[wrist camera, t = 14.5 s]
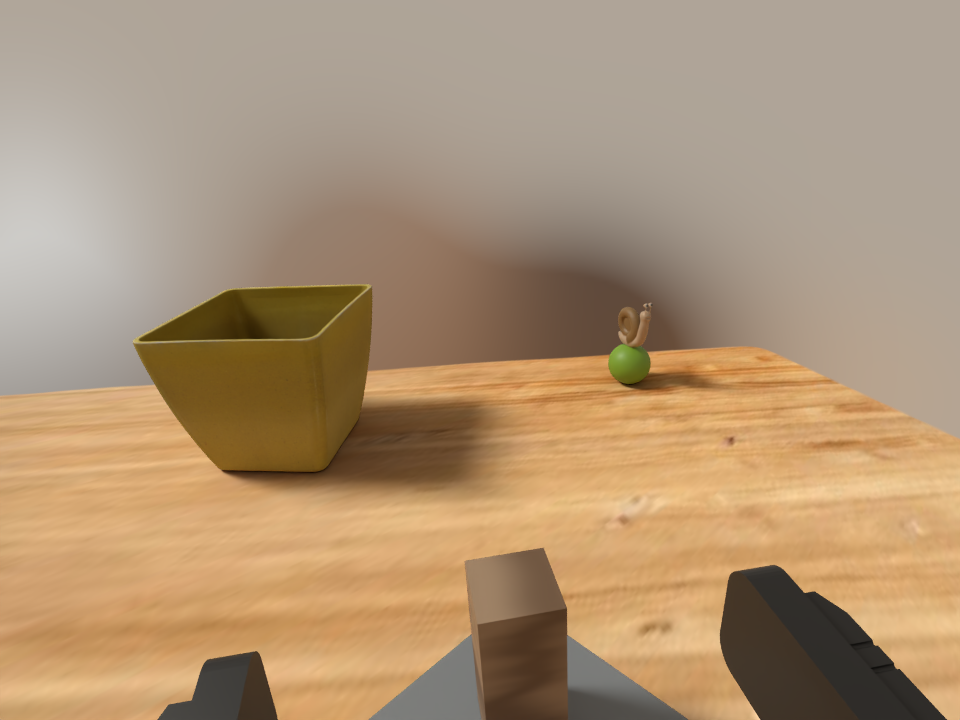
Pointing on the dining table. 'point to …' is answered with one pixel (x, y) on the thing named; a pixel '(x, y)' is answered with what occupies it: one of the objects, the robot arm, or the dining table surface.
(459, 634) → the dining table surface
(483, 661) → the walnut block
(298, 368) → the flower pot
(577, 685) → the plate
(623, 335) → the snail figurine
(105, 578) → the dining table surface
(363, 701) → the dining table surface
